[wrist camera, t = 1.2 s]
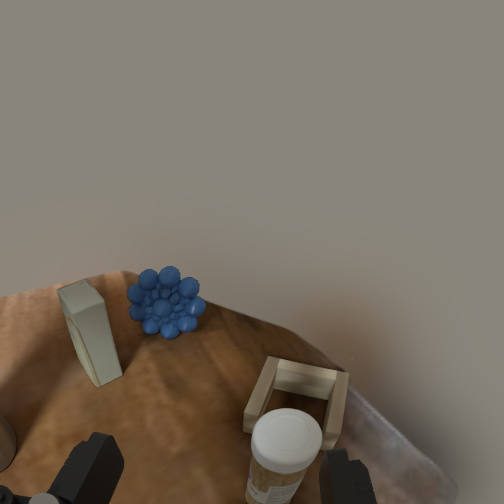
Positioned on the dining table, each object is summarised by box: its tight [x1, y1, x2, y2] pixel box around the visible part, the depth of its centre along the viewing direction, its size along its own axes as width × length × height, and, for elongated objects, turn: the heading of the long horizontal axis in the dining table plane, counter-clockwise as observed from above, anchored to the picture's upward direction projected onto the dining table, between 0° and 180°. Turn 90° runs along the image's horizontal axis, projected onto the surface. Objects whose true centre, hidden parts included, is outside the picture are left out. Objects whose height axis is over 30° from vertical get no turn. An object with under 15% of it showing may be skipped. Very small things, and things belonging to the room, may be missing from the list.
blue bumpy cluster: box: [127, 266, 206, 339], centre depth 42 cm, size 12×7×12 cm, turn 85°
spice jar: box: [245, 408, 322, 504], centre depth 20 cm, size 5×5×13 cm
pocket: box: [243, 356, 349, 451], centre depth 32 cm, size 10×9×4 cm
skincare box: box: [57, 279, 123, 387], centre depth 34 cm, size 6×4×12 cm
